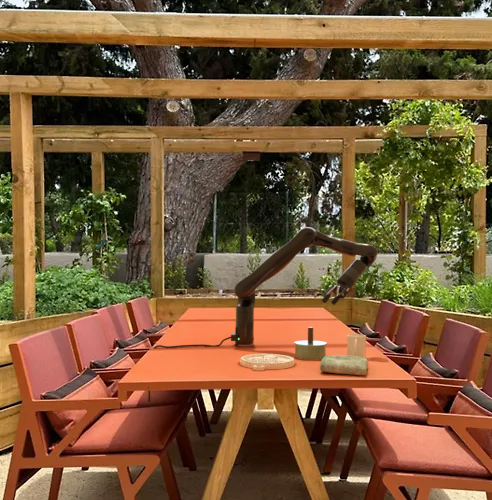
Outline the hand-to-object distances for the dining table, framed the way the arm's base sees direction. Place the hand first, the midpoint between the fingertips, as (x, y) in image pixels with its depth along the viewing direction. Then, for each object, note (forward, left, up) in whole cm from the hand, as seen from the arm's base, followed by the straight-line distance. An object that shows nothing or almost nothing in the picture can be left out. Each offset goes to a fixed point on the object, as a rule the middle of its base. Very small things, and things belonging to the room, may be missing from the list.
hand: (327, 302), depth 283 cm
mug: (+10, -22, -24) cm, 34 cm away
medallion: (-29, -28, -24) cm, 47 cm away
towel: (+3, -38, -24) cm, 45 cm away
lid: (-9, -11, -18) cm, 23 cm away
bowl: (-9, -11, -24) cm, 28 cm away
